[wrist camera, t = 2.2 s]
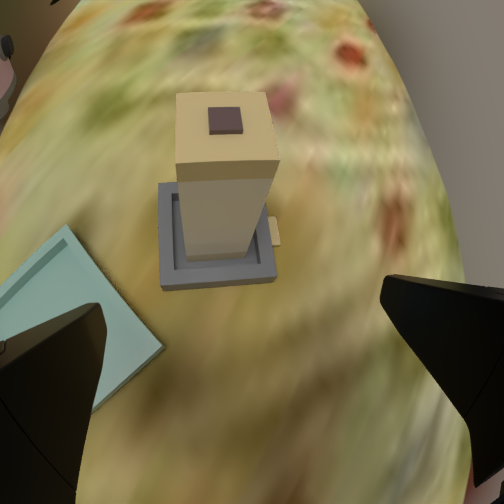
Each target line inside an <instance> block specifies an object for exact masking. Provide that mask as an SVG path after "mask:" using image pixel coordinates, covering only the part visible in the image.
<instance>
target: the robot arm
mask: <svg viewBox="0 0 504 504" xmlns="http://www.w3.org/2000/svg"><path fill="white" fill-rule="evenodd" d="M380 303H381V305H382V307H383V309H384V310H385V312H386V313H387V315H388V317H389V318H390V320H391V321H392V323H393V324H394V326H395V328H396V329H397V331H398V332H399V334H400V335H401V336H402V338H403V339H404V340H405V341H406V343H407V344H408V345H409V347H410V348H411V349H412V350H413V352H414V353H415V354H416V356H417V357H418V358H419V359H420V361H421V362H422V363H423V365H424V366H425V367H426V369H427V370H428V371H429V373H430V374H431V375H432V377H433V378H434V379H435V381H436V382H437V383H438V385H439V386H440V387H441V389H442V390H443V391H444V393H445V394H446V396H447V397H448V398H449V400H450V401H451V402H452V404H453V405H454V407H455V408H456V409H457V411H458V412H459V414H460V415H461V416H462V418H463V419H464V421H465V422H466V424H467V426H468V429H469V433H470V441H471V451H472V463H473V482H474V486H475V488H477V487H478V486H480V485H481V484H482V483H484V482H485V481H487V480H488V479H490V478H491V477H492V476H494V475H495V474H496V473H498V472H499V471H500V470H502V469H503V468H504V289H503V288H495V287H485V286H478V285H471V284H463V283H456V282H449V281H441V280H434V279H427V278H419V277H412V276H405V275H397V274H394V275H387V276H386V277H385V278H384V280H383V285H382V289H381V294H380ZM106 339H107V325H106V321H105V318H104V314H103V311H102V307H101V305H100V303H98V302H95V303H86V304H84V305H81V306H79V307H77V308H75V309H72V310H70V311H68V312H66V313H63V314H61V315H59V316H57V317H54V318H52V319H50V320H48V321H45V322H43V323H41V324H39V325H36V326H34V327H32V328H30V329H28V330H25V331H23V332H21V333H19V334H17V335H14V336H12V337H10V338H8V339H6V340H5V341H4V340H2V341H0V504H75V499H76V492H75V491H76V490H77V483H78V477H79V471H80V466H81V460H82V455H83V450H84V444H85V440H86V435H87V430H88V425H89V421H90V417H91V412H92V408H93V404H94V400H95V396H96V392H97V388H98V384H99V380H100V376H101V372H102V367H103V360H104V353H105V346H106ZM491 504H504V481H503V482H502V483H501V490H500V496H499V498H497V499H496V500H495V501H494V502H492V503H491Z"/></svg>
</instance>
